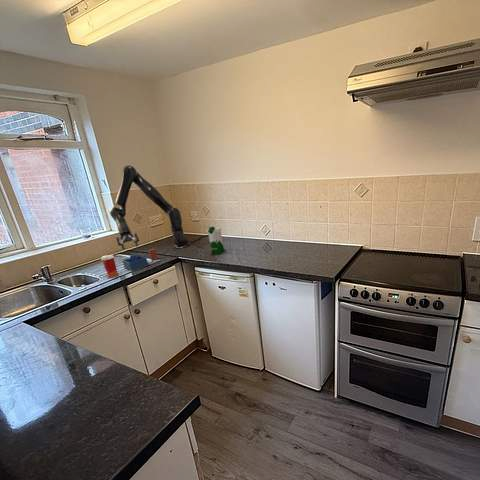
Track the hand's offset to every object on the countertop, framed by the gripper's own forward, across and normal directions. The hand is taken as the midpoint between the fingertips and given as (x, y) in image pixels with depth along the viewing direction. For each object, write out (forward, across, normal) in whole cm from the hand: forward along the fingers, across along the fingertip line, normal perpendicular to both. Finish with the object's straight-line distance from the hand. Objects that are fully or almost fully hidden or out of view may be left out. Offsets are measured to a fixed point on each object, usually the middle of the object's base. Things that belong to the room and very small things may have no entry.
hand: (130, 247), depth 214 cm
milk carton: (+27, +55, -8) cm, 62 cm away
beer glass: (+20, -16, -2) cm, 26 cm away
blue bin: (+13, 0, +5) cm, 14 cm away
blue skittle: (+13, 0, +5) cm, 14 cm away
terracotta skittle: (+9, +14, +10) cm, 19 cm away
